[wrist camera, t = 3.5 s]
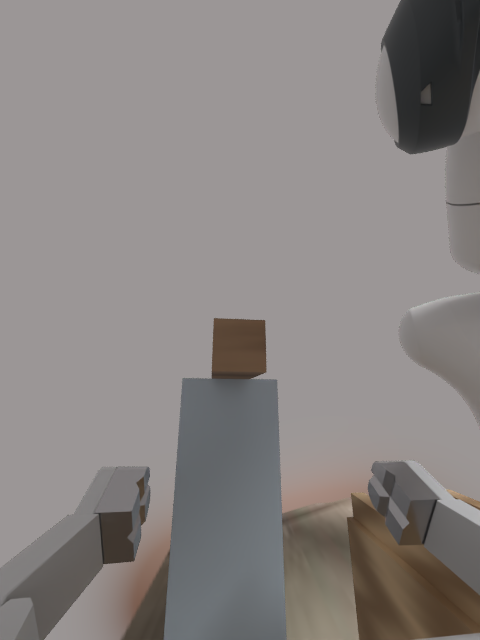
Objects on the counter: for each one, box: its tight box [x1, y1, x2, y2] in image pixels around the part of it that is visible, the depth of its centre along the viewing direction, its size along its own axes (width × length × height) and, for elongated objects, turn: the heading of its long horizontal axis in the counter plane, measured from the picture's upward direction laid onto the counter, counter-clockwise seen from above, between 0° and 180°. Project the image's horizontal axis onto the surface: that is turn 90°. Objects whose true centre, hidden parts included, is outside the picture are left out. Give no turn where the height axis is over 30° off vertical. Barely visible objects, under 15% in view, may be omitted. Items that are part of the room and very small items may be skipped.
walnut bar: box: [212, 318, 266, 379], centre depth 28 cm, size 20×4×4 cm, turn 6°
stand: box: [164, 378, 286, 640], centre depth 30 cm, size 16×10×26 cm, turn 6°
